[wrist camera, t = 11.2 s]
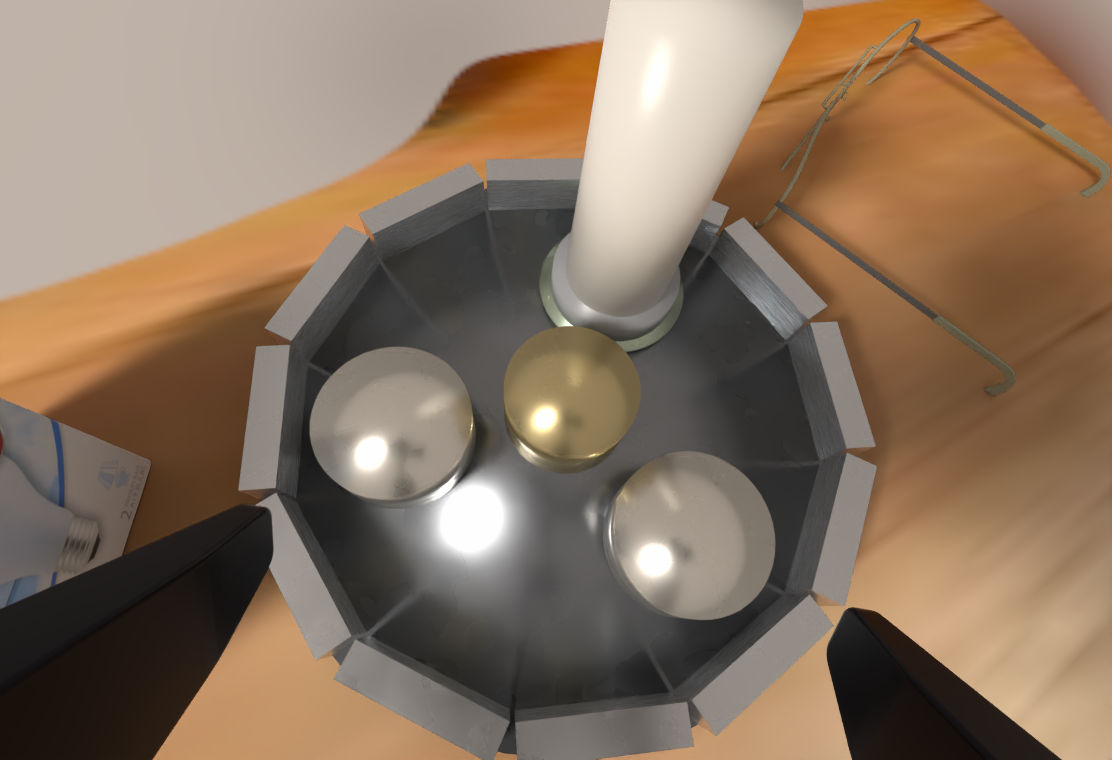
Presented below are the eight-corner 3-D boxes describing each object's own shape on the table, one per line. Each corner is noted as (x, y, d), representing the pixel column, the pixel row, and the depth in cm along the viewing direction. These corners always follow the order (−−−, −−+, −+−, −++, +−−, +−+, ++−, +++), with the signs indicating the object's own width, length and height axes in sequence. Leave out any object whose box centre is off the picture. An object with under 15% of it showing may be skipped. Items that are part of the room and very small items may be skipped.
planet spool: (697, 302, 25) (874, 24, 13) (600, 364, 23) (697, 112, 11) (622, 216, 26) (719, -106, 14) (526, 269, 25) (543, -43, 13)
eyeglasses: (856, 73, 34) (909, -9, 30) (1082, 201, 32) (1179, 133, 27) (727, 231, 29) (768, 161, 24) (987, 400, 26) (1089, 358, 22)
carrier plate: (907, 707, 21) (1000, 732, 17) (234, 792, 18) (159, 844, 14) (763, 195, 29) (802, 134, 26) (296, 203, 27) (261, 135, 23)
